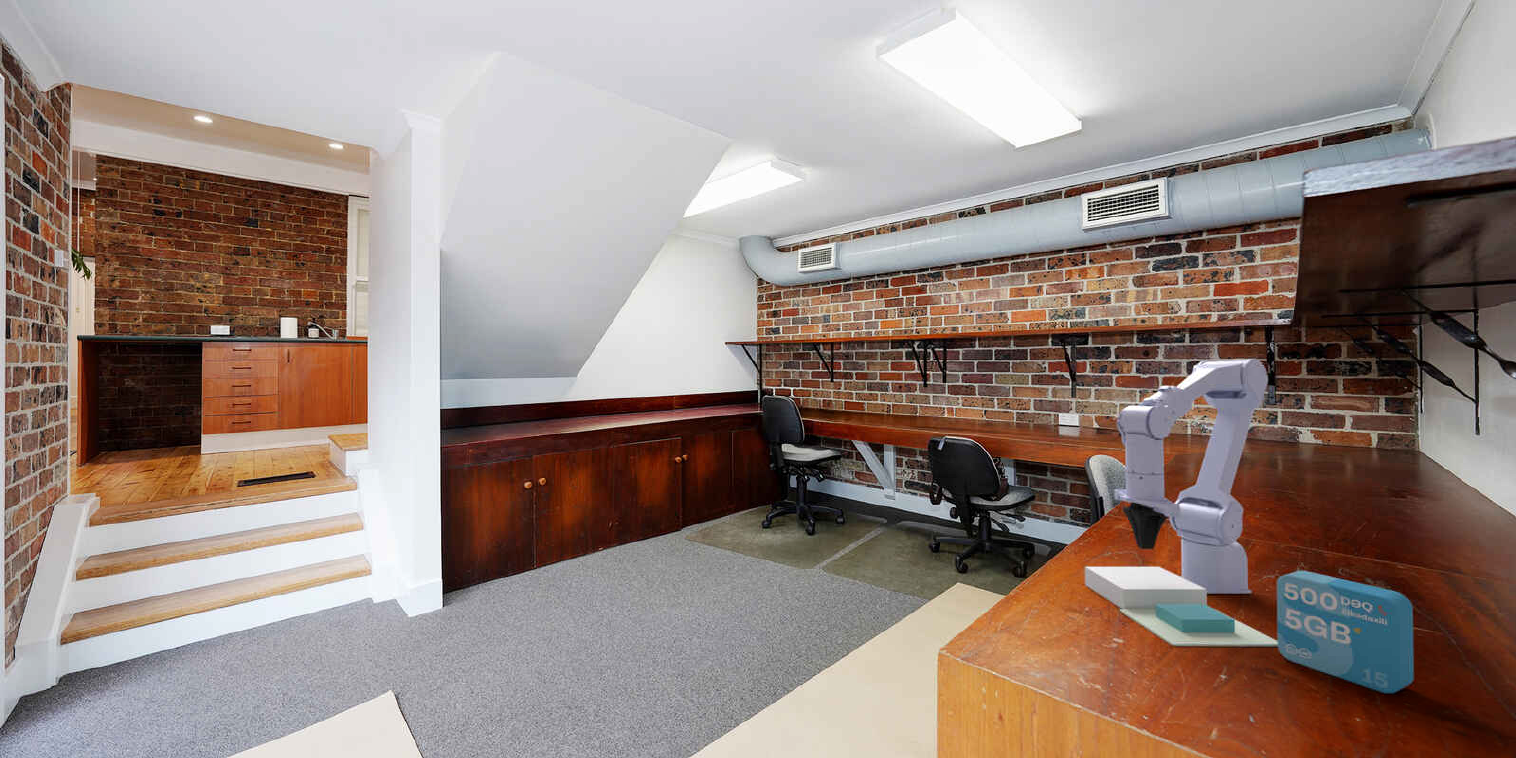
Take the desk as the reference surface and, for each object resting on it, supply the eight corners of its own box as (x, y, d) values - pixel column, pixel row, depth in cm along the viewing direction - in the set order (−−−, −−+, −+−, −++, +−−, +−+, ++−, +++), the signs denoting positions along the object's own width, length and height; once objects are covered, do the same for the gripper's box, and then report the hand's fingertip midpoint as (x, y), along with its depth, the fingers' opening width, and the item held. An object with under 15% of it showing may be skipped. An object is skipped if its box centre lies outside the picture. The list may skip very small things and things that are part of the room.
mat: (1215, 611, 97) (1215, 609, 97) (1283, 646, 84) (1283, 644, 84) (1119, 610, 97) (1119, 609, 97) (1173, 646, 84) (1173, 644, 84)
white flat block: (1159, 585, 109) (1158, 566, 109) (1206, 609, 97) (1206, 589, 97) (1085, 584, 110) (1084, 566, 110) (1123, 609, 98) (1123, 589, 98)
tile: (1234, 619, 88) (1234, 632, 88) (1205, 604, 94) (1205, 616, 94) (1181, 619, 88) (1181, 632, 88) (1155, 604, 94) (1155, 616, 94)
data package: (1277, 657, 81) (1275, 572, 81) (1293, 650, 83) (1291, 567, 83) (1399, 699, 70) (1398, 600, 70) (1414, 690, 72) (1413, 594, 72)
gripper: (1098, 466, 110) (1099, 537, 110) (1149, 479, 95) (1151, 560, 95) (1134, 466, 110) (1136, 536, 110) (1192, 478, 95) (1193, 560, 95)
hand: (1145, 548), depth 103 cm, fingers closed
